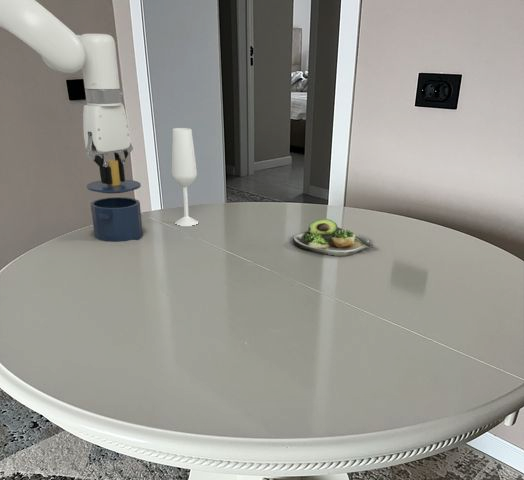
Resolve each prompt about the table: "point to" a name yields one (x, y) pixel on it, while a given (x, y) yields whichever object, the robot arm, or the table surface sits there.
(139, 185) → the lid
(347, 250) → the salad plate
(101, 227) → the pot
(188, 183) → the champagne flute
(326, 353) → the table surface
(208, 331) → the table surface
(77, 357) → the table surface
